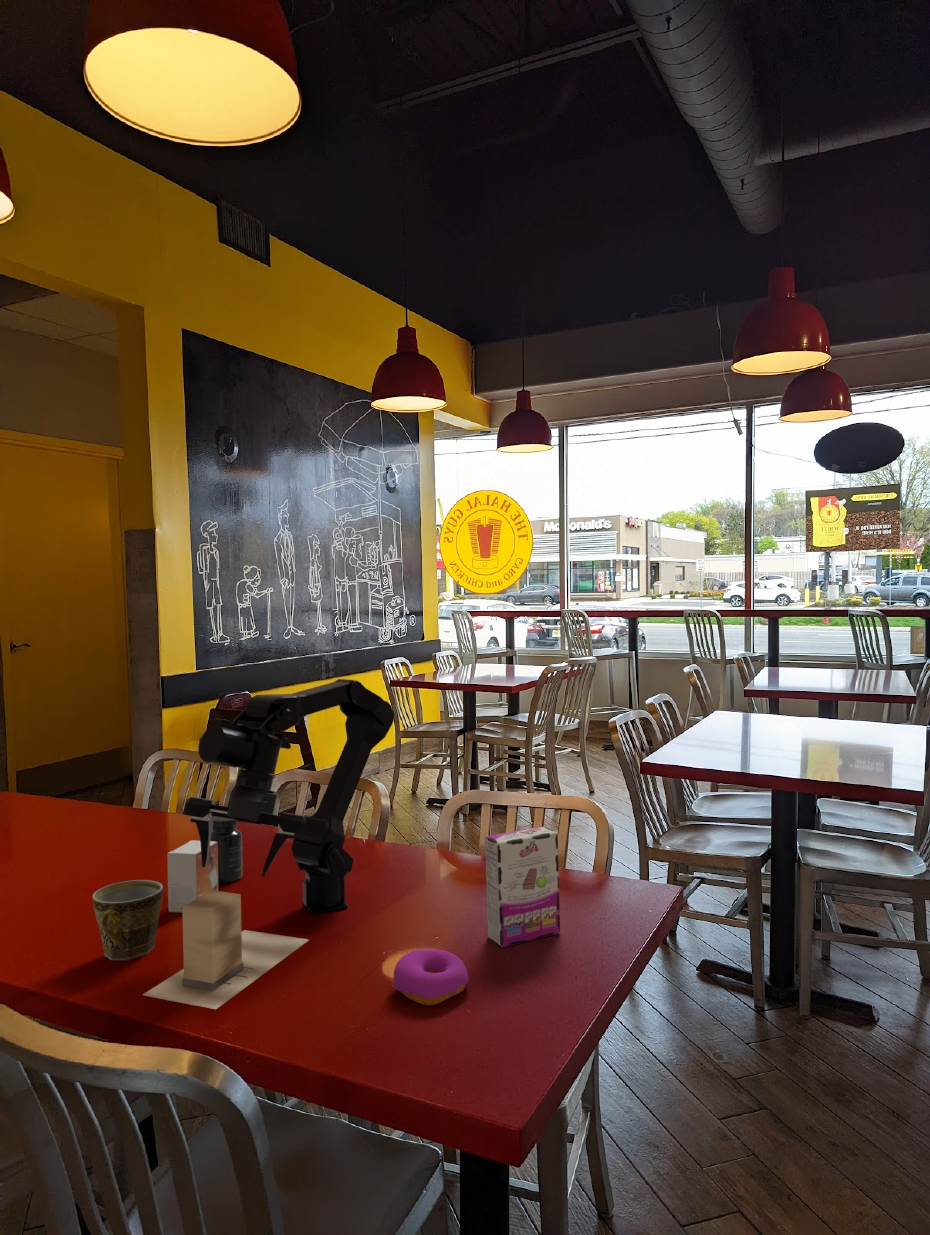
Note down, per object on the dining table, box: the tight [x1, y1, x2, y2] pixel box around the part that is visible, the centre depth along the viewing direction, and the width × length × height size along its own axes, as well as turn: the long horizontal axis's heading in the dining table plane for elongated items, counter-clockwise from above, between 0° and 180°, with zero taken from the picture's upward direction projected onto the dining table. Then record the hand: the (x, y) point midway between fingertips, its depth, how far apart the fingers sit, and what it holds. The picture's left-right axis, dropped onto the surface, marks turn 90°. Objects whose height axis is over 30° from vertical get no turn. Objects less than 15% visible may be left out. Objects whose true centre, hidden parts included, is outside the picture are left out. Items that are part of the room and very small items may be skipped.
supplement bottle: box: [210, 816, 243, 885], centre depth 159 cm, size 7×7×12 cm
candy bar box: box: [484, 826, 561, 948], centre depth 129 cm, size 11×5×16 cm, turn 117°
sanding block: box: [182, 890, 244, 992], centre depth 114 cm, size 7×5×11 cm
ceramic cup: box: [92, 879, 164, 961], centre depth 122 cm, size 13×10×10 cm
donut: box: [393, 948, 469, 1006], centre depth 112 cm, size 10×10×4 cm
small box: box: [166, 840, 219, 914], centre depth 145 cm, size 8×6×10 cm
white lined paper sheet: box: [142, 929, 310, 1010], centre depth 118 cm, size 23×12×1 cm, turn 160°
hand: (233, 871), depth 127 cm, fingers open, 9 cm apart
